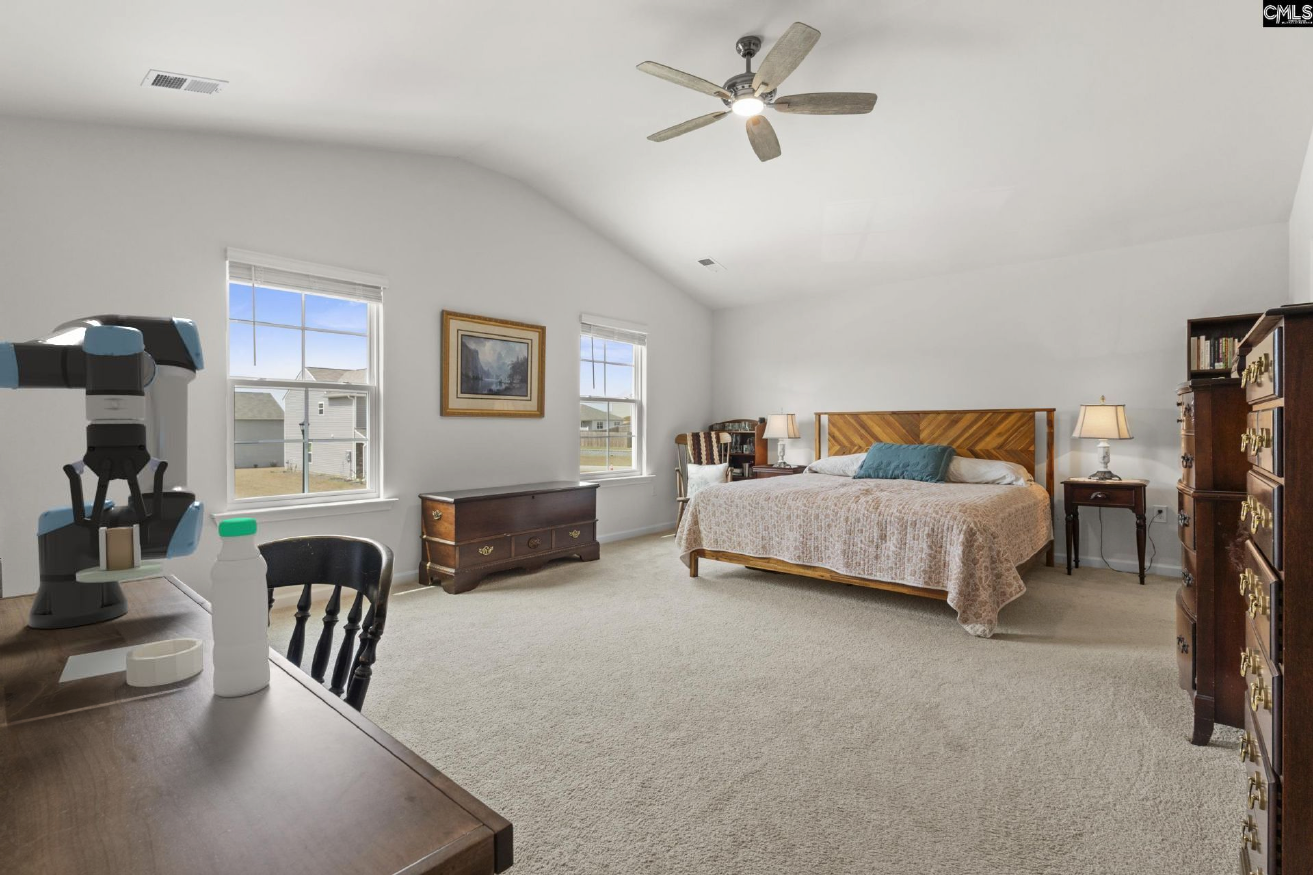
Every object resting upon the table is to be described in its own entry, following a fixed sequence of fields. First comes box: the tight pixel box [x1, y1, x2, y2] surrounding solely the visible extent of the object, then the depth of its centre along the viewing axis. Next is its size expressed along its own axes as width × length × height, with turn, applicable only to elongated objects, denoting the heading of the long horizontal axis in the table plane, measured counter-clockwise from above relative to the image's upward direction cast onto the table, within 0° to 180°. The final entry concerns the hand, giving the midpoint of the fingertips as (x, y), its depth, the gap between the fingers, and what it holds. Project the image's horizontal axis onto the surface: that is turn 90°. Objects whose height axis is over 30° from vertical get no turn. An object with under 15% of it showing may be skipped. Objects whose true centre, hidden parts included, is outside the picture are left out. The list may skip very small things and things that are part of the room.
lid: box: [76, 527, 164, 583], centre depth 108 cm, size 11×11×8 cm
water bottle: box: [209, 517, 271, 698], centre depth 97 cm, size 7×7×25 cm
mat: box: [58, 641, 155, 684], centre depth 109 cm, size 14×14×1 cm
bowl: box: [125, 637, 204, 688], centre depth 102 cm, size 9×9×4 cm
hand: (120, 566), depth 108 cm, fingers closed on lid, 3 cm apart
